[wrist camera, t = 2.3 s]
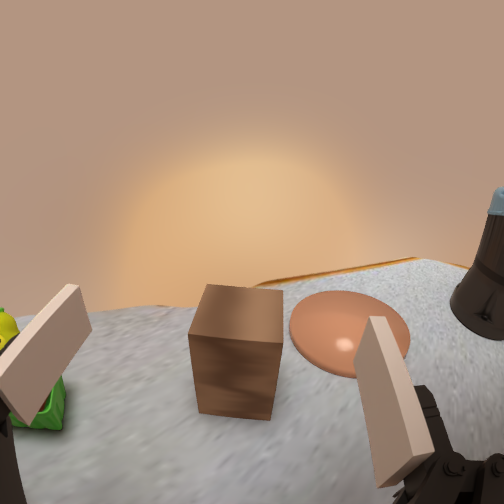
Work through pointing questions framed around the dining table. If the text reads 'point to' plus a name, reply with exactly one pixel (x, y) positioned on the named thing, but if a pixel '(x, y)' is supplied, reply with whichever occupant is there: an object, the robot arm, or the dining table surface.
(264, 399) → the walnut block
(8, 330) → the fruit basket
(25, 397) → the robot arm
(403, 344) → the dish
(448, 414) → the dining table surface
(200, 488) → the dining table surface
